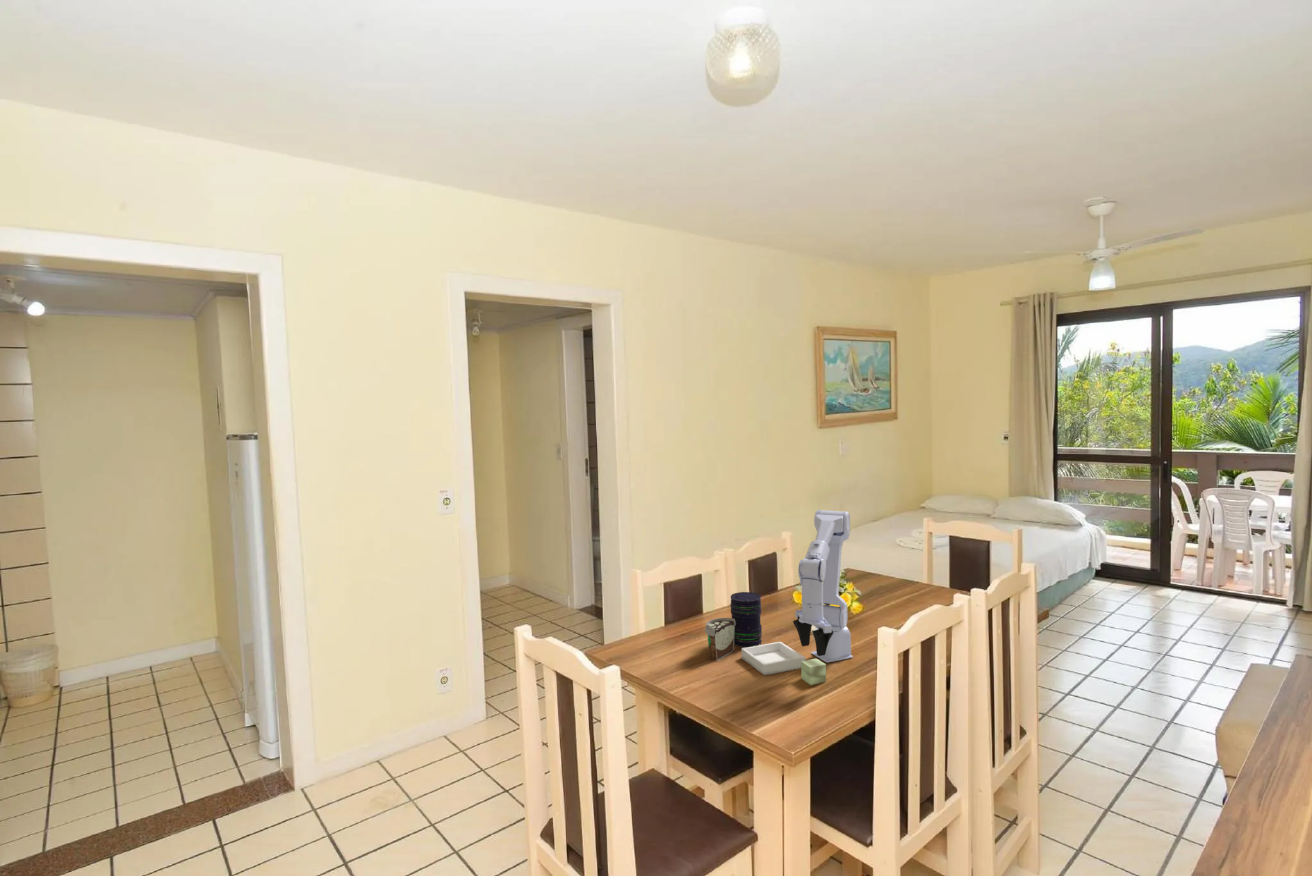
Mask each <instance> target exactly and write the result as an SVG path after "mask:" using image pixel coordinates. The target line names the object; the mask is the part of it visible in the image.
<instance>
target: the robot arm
mask: <svg viewBox="0 0 1312 876" xmlns="http://www.w3.org/2000/svg"><path fill="white" fill-rule="evenodd" d="M813 519H814V520H813V521H814V527H815V529H816V536H815V540H812V541H811V542H810V544H809V547H808V548H807V551H806V554H805V557H804V558H803V559H800V561H799V563H798V569H797V570H798V577H799V586H801V609H796V610H795V611H794V615H795V618H796V619H794V620H793V625H794V627H795V629H796V631H797V634H798V637H799V641H800V646H801V647H808V646H810V643H811V642H810V641H811V633H812V636H813V638H814V641H815V651H811V654H812V655H814V656H815V657H817V659H818V658H819V660H820V661H821V660H822V662H823V661H824V662H825V663H831V662H832V663H833V662H838V661H843V660H847V659H852V658H853V655H852V640H851V637H852V635H851V632H850V629H849V628H848V626H847V624H848V614H849V613H848V604H847V601H845V599H843V598H842V597H841V596H840V594H839V592H840V580H841V579H840V578H841V577H840V576H841V564H842V563H841V562H842V551H843V550H842V549H843V546H844V545H843V544H844V541H847V540H849V538H850V534H851V533H850V532H851V515H850V513H849V512H848V511H846V510H845V511H843V510H842V511H838V510H837V511H836V510H822V509H817V510H816V511H815V513H814V518H813ZM812 627H815V628H816V629H815V630H812Z"/></svg>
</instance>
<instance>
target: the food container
mask: <svg viewBox="0 0 1312 876" xmlns="http://www.w3.org/2000/svg"><path fill="white" fill-rule="evenodd" d="M735 625H736V622H735V619H732V617H731V618H729V617H720V618H719V617H718V618H714V619H710V620H708V621H707V622H706V624H705V629H704V632H705V633H706V636H707V644H708V646H707V647H708V654H709V658H710V659H711V660H714V661H716V662H718V661H720V660H721V659H723V658H725V657H727V656H728V655H730V654H732V653H734V652H733V651H735V645H734V631H735Z"/></svg>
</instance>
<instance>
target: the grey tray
mask: <svg viewBox="0 0 1312 876" xmlns="http://www.w3.org/2000/svg"><path fill="white" fill-rule="evenodd" d="M741 659H742V660H743V661H744V662H746V663H747V664H748V665H750V666H751V667H753V668H754V669H755V670H757V671H758V672H759V673H760V674H762V675H763V676H770V675H772V674H773V675H774V674H778V673H783V672H789V671H793V670H794V669H795V670H799V669H800V670H801V661H806V656H804V655H802V654H801V653H799V652H798V651H796V650H795V649H793V648H791V647H790V646H788V645H787V644H784V643H783V642H782V641H776V642H775V641H774V642H771V643H765V644H760V645H758V646H753V647H741Z"/></svg>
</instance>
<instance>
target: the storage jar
mask: <svg viewBox="0 0 1312 876" xmlns="http://www.w3.org/2000/svg"><path fill="white" fill-rule="evenodd" d="M730 614H731V618H732V619H735V622H736V625H735V631H734V646H736V647H739V646H740V648H747V647H753V646H758V645H759V644H760V645H762V643H761V642H762V641H763V640H762V635H763V633H762V632H763V630H762V629H763V627H762V625H761V615H762V597H761V595H760V594H759V593H754V592H749V591H740V592H734V593H732V594H731V595H730Z"/></svg>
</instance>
